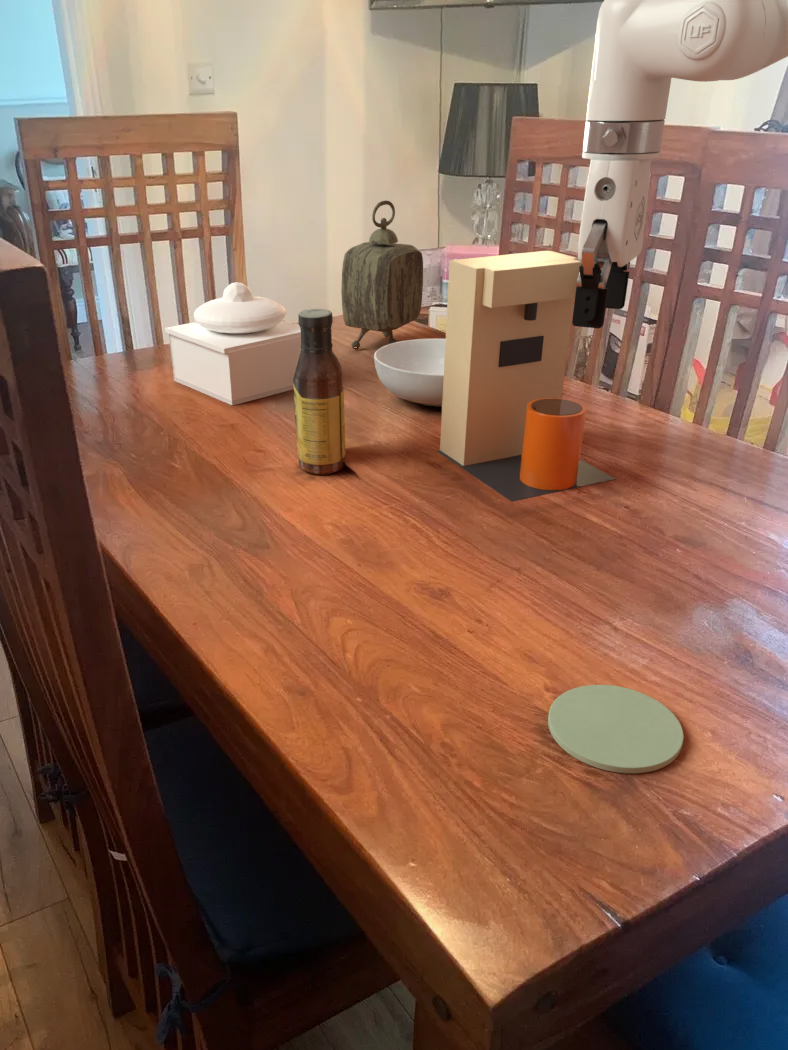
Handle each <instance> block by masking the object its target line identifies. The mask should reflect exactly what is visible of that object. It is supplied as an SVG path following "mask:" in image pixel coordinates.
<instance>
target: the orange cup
mask: <svg viewBox="0 0 788 1050" xmlns="http://www.w3.org/2000/svg"><path fill="white" fill-rule="evenodd" d="M587 410H588V409H587V406H586V405H584V404H583V403H581V402H580V401H576V400H573V399H568V398H563V397H562V398H542V399H536V400H533V401H531V402H529V403H528V404H527V407H526V416H525V426H524V436H523V445H522V455H521V465H520V474H519V478H520V480H521V482H522V483H524V484H525V485H527V486H530V487H533V488H536V489H541V490H563V489H568V488H571V487H573V486H574V485H575V484H576V482H577V475H578V468H579V461H580V460H581V453H582V447H583V439H584V432H585V426H586V425H585V424H586V418H587V412H588V411H587Z"/></svg>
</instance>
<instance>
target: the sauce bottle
mask: <svg viewBox="0 0 788 1050" xmlns="http://www.w3.org/2000/svg"><path fill="white" fill-rule="evenodd" d="M333 319H334V318H333V312H332V311H331V310H330V309H327V308H309V309H304V310H301V311H299V312H298V321H297V322H298V324H299V326H300V329H301V352H300V356H299V359H298V363H297V367H296V370H295V374H294V378H293V401H294V403H293V405H294V406H293V407H294V420H295V431H296V432H295V435H296V450H297V451H296V452H297V458H298V465H299V467H300V469H301V470H302V471H304V472H306V473H309V474H313V475H320V476H321V475H322V476H325V475H330V474H333V473H338V472H339V471H341V470H343V468H344V467H345V462H344V459H345V456H346V453H347V449H346V419H345V388H344V384H343V383H344V379H343V368H342V364H341V363H340V361H339V358H338V356H337V355H336V354H335V353H334V351H333V346H334V345H333V338H332V337H333V336H332V326H333V323H334V322H333V321H334V320H333Z"/></svg>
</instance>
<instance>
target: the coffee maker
mask: <svg viewBox="0 0 788 1050" xmlns="http://www.w3.org/2000/svg"><path fill="white" fill-rule="evenodd" d="M448 263H449V264H448V281H447V282H448V284H447V285H448V286H447V303H446V321H445V323H446V324H445V339H446V340H445V360H444V380H443V399H442V407H441V418H440V419H441V421H440V438H439V439H440V441H439V444H440V445H439V450H436V452H437V453H438V454H440V455H441V456H443V457H445V458H446V459H447V460H449V461H450V462H451V463H453V464H455V465H457V466H458V467H460V468H461V469H462V470H464V471H465V472H467V473H468V474H469V475H471V476H473V477H474V478H475V479H477V480H478V481H480V482H481V483H483V484H484V485H486V486H487V487H489V488H490V489H492V490H493V491H495V492H497V493H498V494H499V495H501V496H502V497H504V498H505V499H507V500H508V501H510V502H511V503H512V502H517V501H522V500H526V499H531V498H536V497H540V496H545V495H549V494H554V493H558V492H564V491H569V490H573V489H577V488H583V487H587V486H592V485H596V484H602V483H605V482H610V481H615V480H616V478H615V477H613V476H612V475H610V474H608V473H606V472H604V471H603V470H601V469H599V468H597V467H595V466H594V465H591V464H590V463H588V462H586V461H584V460H582V459H580V461H579V468H578V475H577V482H576V484H575V485H574V486H573V487H571V488H568V489H563V490H541V489H536V488H533V487H530V486H527V485H525V484H524V483H522V482H521V480H520V478H519V474H520V465H521V455H522V445H523V436H524V426H525V416H526V407H527V404H528V403H529V402H531V401H533V400H536V399H542V398H562V399H563V390H564V382H565V376H566V375H565V374H566V367H567V366H566V365H567V358H568V350H569V344H570V343H569V342H570V334H571V326H572V319H573V311H574V303H575V294H576V287H577V279H578V276H579V270H580V269H579V267H580V266H581V265H582V263H581V262H580V261H579V259H578V257H575V256H572V255H568V254H564V253H561V252H560V253H559V252H557V251H556V252H555V251H553V250H541V251H539V250H538V251H530V252H519V253H509V254H499V255H489V256H480V257H479V256H478V257H471V258H469V257H468V258H459V259H450V260H449V262H448Z"/></svg>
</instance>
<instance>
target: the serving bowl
mask: <svg viewBox="0 0 788 1050" xmlns="http://www.w3.org/2000/svg"><path fill="white" fill-rule="evenodd" d="M445 340H446V338H438V337H437V338H417V339H415V338H414V339H407V340H406V339H405V340H401V341H397V342H395V343H392V344H386V345H383V346H381V347H380V348H378V349H376V351H375V352H374V354H373V361H374V368H375V371H376V374H377V377H378V379H379V381H380V382H381V384H382V385H383V386H384V387H385V389H386V390H387V391H389V392H390V393H391V394H393V395H394V396H396V397H398V398H400V399H403V400H405V401H408V402H411V403H415V404H419V405H423V406H428V407H434V408H435V407H436V408H442V399H443V380H444V360H445Z"/></svg>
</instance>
